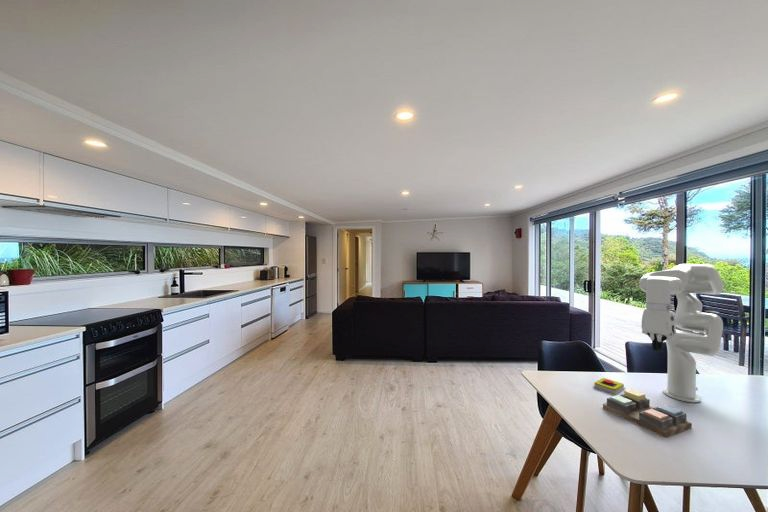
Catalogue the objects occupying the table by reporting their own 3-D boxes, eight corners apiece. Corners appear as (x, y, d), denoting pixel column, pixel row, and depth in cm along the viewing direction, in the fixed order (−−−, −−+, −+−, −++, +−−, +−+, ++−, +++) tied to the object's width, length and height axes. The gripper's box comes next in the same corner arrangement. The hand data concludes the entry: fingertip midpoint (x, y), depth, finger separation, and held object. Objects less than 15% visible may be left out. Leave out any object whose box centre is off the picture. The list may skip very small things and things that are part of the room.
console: (627, 401, 134) (627, 390, 134) (691, 428, 114) (691, 415, 114) (602, 408, 128) (602, 396, 128) (666, 437, 108) (666, 424, 108)
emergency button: (592, 380, 148) (604, 374, 156) (592, 389, 148) (604, 382, 156) (614, 387, 140) (626, 380, 148) (614, 396, 140) (626, 389, 148)
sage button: (618, 402, 128) (618, 395, 128) (632, 408, 124) (632, 400, 124) (610, 405, 126) (610, 397, 126) (624, 411, 122) (624, 402, 122)
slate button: (665, 412, 121) (665, 404, 121) (681, 419, 116) (681, 410, 116) (657, 415, 119) (657, 406, 119) (674, 422, 114) (674, 413, 114)
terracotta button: (651, 417, 117) (651, 408, 117) (668, 424, 112) (668, 415, 112) (643, 419, 115) (643, 411, 115) (660, 426, 110) (660, 418, 110)
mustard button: (631, 396, 132) (631, 389, 132) (645, 402, 127) (645, 394, 127) (624, 398, 130) (624, 390, 130) (637, 404, 125) (638, 396, 125)
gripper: (686, 309, 118) (685, 354, 118) (642, 303, 132) (641, 344, 132) (675, 310, 116) (675, 357, 116) (632, 304, 130) (631, 345, 130)
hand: (657, 350), depth 124 cm, fingers closed
